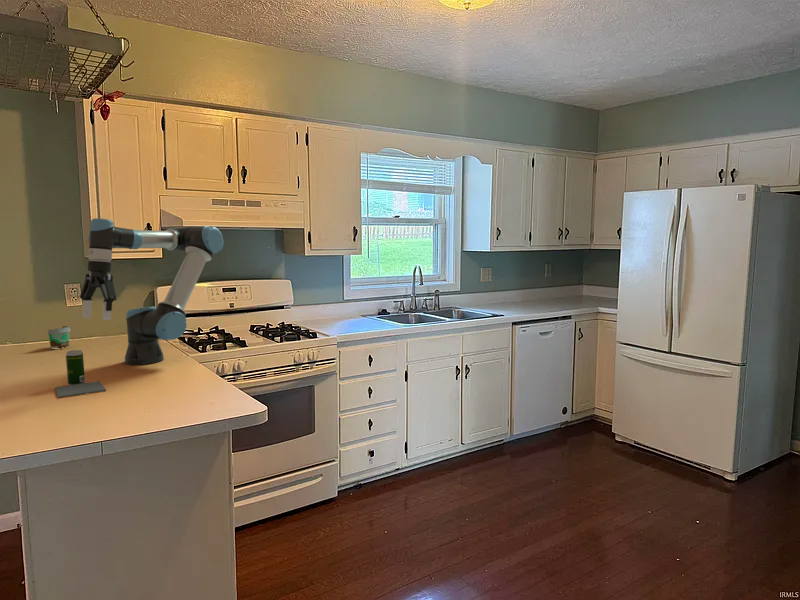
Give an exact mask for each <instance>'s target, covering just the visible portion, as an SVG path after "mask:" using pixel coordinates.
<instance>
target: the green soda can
mask: <svg viewBox="0 0 800 600" xmlns="http://www.w3.org/2000/svg"><path fill="white" fill-rule="evenodd" d="M65 353H66V354H65V363H66V374H67V378H66V379H67V384H68V386H69V385H76V384H83V383H86V374H85V366H84V365H85V362H84V361H85V360H84V352H83V350H82V349H80V350H79V349H75V350H68V351H66V352H65Z"/></svg>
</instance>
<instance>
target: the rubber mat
mask: <svg viewBox="0 0 800 600" xmlns="http://www.w3.org/2000/svg"><path fill="white" fill-rule="evenodd" d="M54 390H56V391H55V394H56V395H58V396H57V398H58V397H63V398H66V397H65V396H70V397H73V396H72V395H76V396H80V395H79V394H83V395H87V394H86V393H90V394H94V393H93V392H96V393H101V392H100V391H103V392H106V391H107V388H106V387H105V386H104V385H103V383H102V382H101V381H100V380H98V381H91V382H85V383H83V384H76V385H69V384H68V385H64V386H63V385H62V386H56V387H54Z"/></svg>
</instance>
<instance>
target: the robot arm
mask: <svg viewBox="0 0 800 600" xmlns="http://www.w3.org/2000/svg"><path fill="white" fill-rule="evenodd" d="M89 226H90V227H89V233H88V237H87V240H88V243H89V244H88V251H87V253H88V260H89V261H88V262H87V271H88V272H91V273H86V274H85V279H84V282H83V286H82V289H81V292H80V295H79V299H82V301H83V304H82V319H91V318H92V308H93V307H92V306H93V305H92V304H93V299H92V297H93V296H94V293H96V290H97V288H100V291H101V295H102V297H103V306H102V321H112V312H113V311H112V310H113V302H114V301H117V295H116V294H117V293H116V291H115V285H114V282H113V281H114V280H113V279H114V278H113V277H114V276H113V274H108V273H111V271H112V263H111V261H112V257H113V249H129V250H138V249H166V250H167V251H178V252H185V253H186V255H185V257H184V260H183V262H182V263H181V265H180V268H179V269H178V272H177V274H176V275H175V278H174V279H173V282H172V283H171V286H170V288H169V289H168V292H167V294H166V297H165V298H164V300H163V301H160V302H158V304H157V306H154V305H153V306H146V307H145V306H144V307H139V308H132V309H128V310H127V311H126V316H125V319H126V331H127V342H128V343H127V344H128V345H127V349H126V351H125V356H124V363H125V364H126V365H132V366H133V365H134V366H135V365H138V366H139V365H140V366H141V365H148V364H156V363H158V362H162V361H163V360H164V352H163V350H162V347H161V346H160V342H159V340H161V341H162V340H163V341H168V340H169V341H171V340H172V341H173V340H177V339H178V338H179V339H180V337H181V336H183V334H184V333H185V331H186V330H187V325H188V323H187V318H186V315H187V313H186V311H185V308H186V306H187V303H188V301H189V300H190V297H191V296H192V293H193V290H194V289H195V287H196V285H197V282H198V281H199V278H200V276H201V273H202V272H203V270H204V267H205V265H206V262H207V263H208V262H210V261H212V258H213V257H214V254H218V253H219V252H221V251H222V249H223V247H224V244H225V243H224V238H223V234H222V232H221V231H220V230H219V229H218V228H217V227H215V226H209V225H205V226H185V227H178V228H166V229H165V230H150V229H149V230H147V229H133V228H132V229H131V228H126V227H117V226H115V224H114V221H113V220H112V219H107V218H98V217H97V218H92V219H91V220H90V224H89Z"/></svg>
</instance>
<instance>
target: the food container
mask: <svg viewBox="0 0 800 600" xmlns="http://www.w3.org/2000/svg"><path fill="white" fill-rule="evenodd" d="M70 332H71V328H70V326H68V325H63V326H62V327H60V328H55V329H48V330H47V334H48V339H49V344H50V349H51V348H62V347H67V346H69V347H70Z"/></svg>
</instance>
